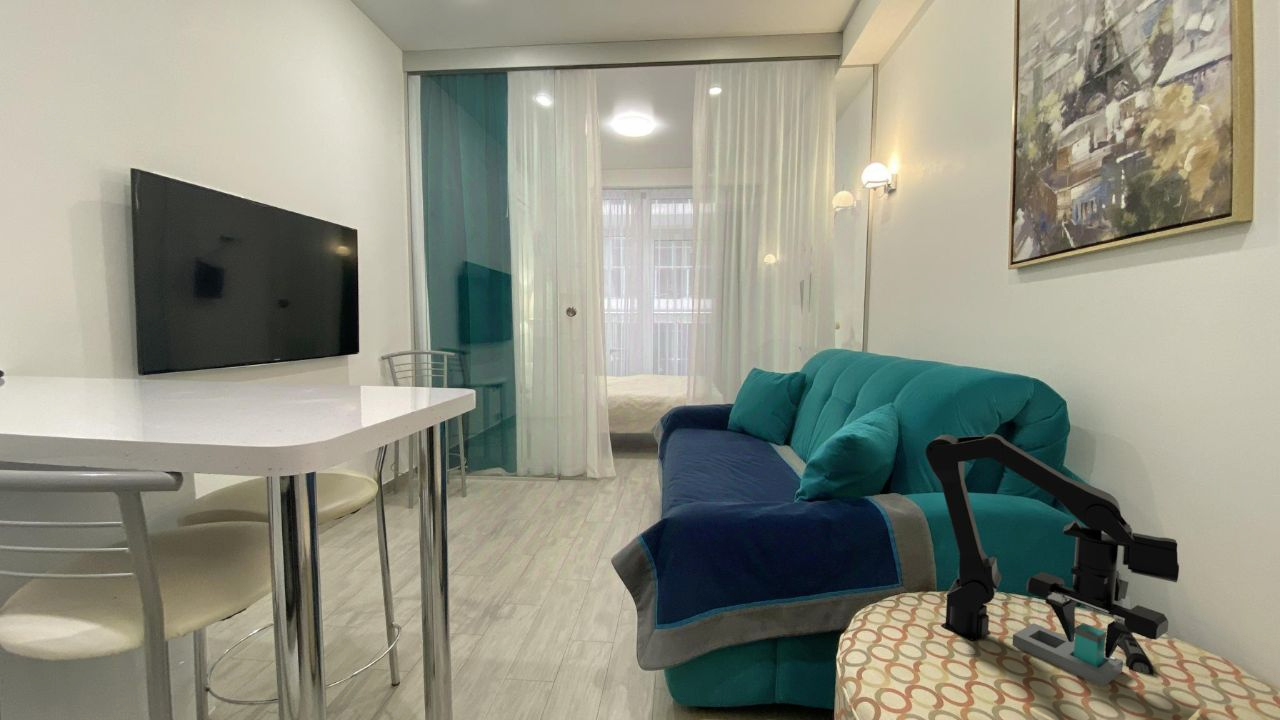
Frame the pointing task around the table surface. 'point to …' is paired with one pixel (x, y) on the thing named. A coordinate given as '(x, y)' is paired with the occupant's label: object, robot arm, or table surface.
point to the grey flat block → (1064, 654)
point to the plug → (1089, 644)
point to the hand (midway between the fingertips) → (1089, 649)
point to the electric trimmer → (1135, 655)
